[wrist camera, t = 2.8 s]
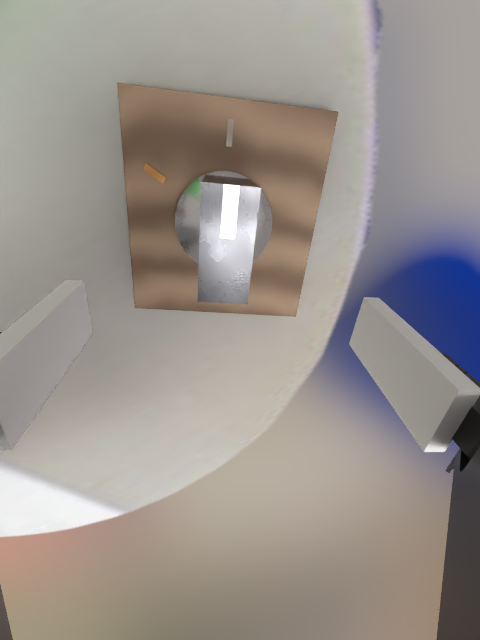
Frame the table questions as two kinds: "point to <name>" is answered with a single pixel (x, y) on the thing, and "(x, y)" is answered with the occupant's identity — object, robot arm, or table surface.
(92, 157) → the table surface
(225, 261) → the dial
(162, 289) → the dial panel
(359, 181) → the table surface
